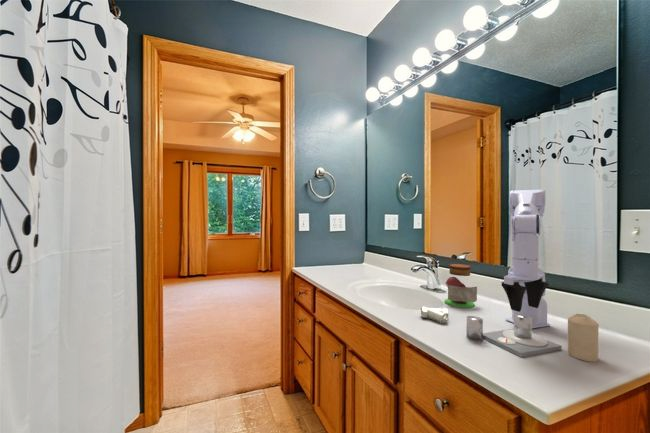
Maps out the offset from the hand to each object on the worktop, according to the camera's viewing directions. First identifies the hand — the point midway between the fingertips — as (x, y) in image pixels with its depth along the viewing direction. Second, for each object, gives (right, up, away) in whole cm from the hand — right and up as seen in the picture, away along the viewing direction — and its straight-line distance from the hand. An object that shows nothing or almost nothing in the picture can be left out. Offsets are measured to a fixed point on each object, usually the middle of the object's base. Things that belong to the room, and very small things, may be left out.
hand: (524, 308), depth 77 cm
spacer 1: (-12, -9, +2) cm, 16 cm away
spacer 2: (0, -8, 0) cm, 8 cm away
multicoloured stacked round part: (-2, -9, +34) cm, 35 cm away
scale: (-2, -9, -1) cm, 9 cm away
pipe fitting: (-18, -9, +16) cm, 26 cm away
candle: (+9, -9, -8) cm, 15 cm away
